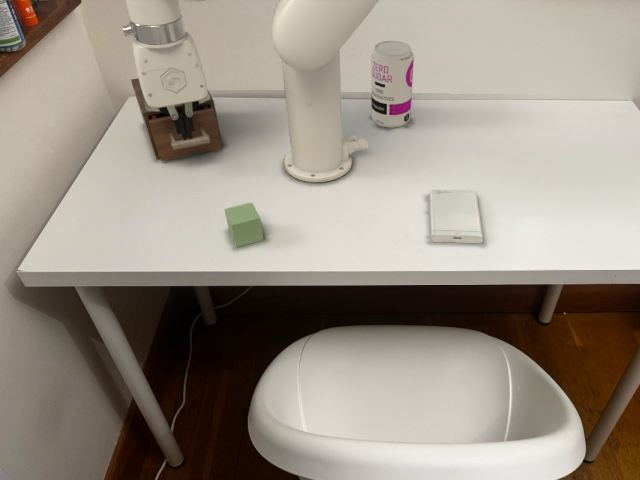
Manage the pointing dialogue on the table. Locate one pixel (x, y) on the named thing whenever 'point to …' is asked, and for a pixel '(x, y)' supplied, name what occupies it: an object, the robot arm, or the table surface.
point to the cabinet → (147, 114)
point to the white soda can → (391, 83)
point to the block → (244, 224)
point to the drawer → (174, 143)
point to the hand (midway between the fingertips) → (186, 135)
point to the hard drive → (455, 216)
